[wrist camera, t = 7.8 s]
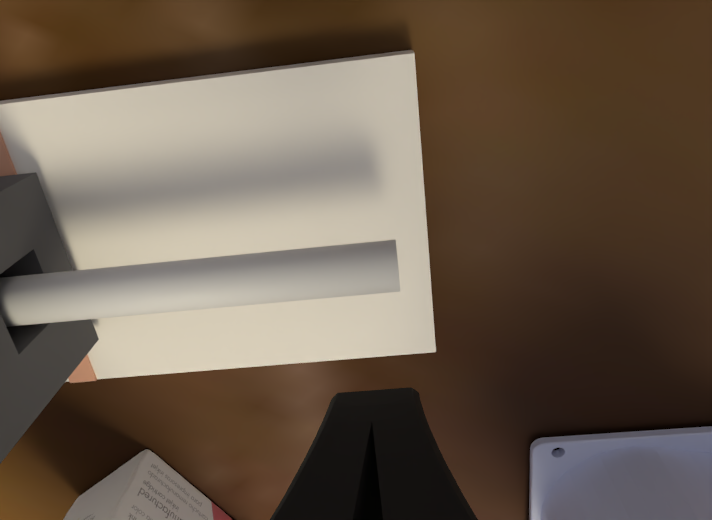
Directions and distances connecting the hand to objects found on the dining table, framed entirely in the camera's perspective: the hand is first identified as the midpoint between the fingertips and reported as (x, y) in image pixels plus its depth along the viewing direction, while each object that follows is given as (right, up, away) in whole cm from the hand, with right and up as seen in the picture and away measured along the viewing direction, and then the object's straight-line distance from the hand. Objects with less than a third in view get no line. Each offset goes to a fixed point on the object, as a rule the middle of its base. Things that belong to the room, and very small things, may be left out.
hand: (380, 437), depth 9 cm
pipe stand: (-8, +4, +10) cm, 13 cm away
